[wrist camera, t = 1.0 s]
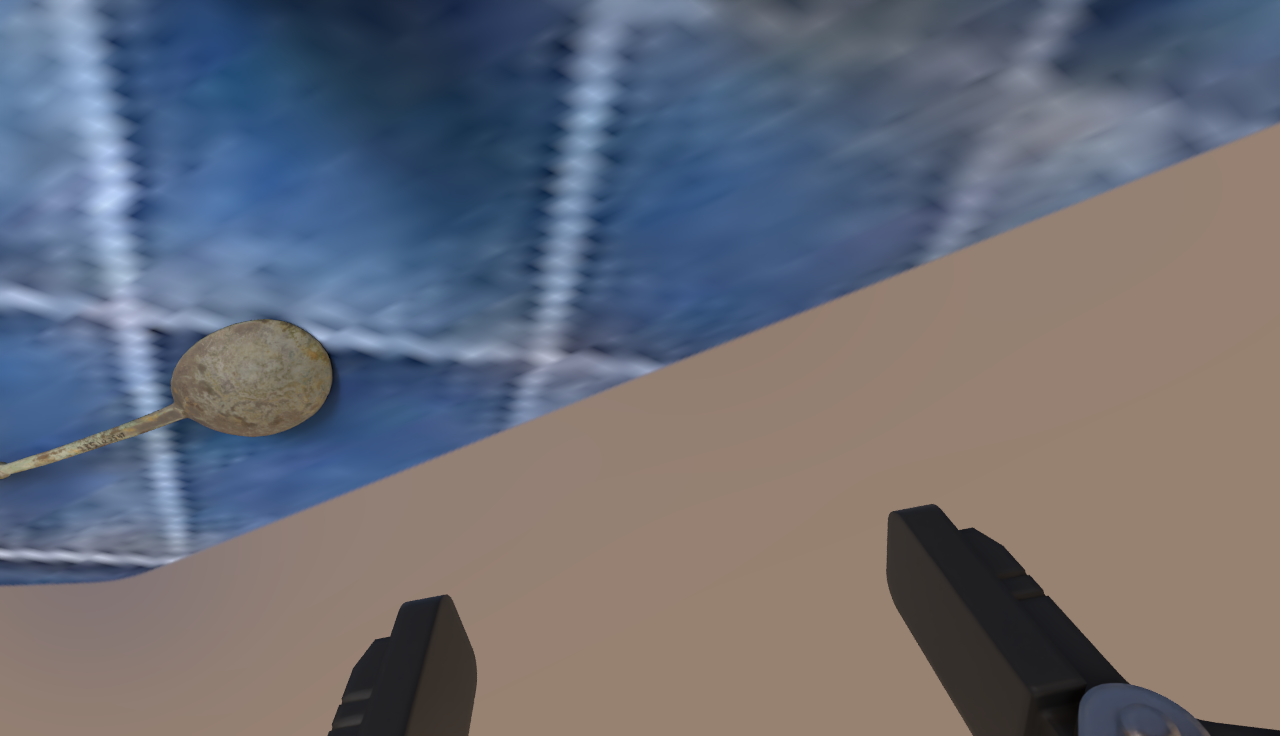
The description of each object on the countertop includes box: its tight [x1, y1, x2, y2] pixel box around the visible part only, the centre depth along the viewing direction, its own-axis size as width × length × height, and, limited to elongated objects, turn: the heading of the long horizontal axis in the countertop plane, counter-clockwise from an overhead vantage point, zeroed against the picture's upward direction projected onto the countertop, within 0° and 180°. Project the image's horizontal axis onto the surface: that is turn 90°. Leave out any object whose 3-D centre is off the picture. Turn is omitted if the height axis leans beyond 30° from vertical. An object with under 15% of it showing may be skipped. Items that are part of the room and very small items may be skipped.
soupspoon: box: [0, 319, 332, 479], centre depth 33 cm, size 22×3×7 cm
